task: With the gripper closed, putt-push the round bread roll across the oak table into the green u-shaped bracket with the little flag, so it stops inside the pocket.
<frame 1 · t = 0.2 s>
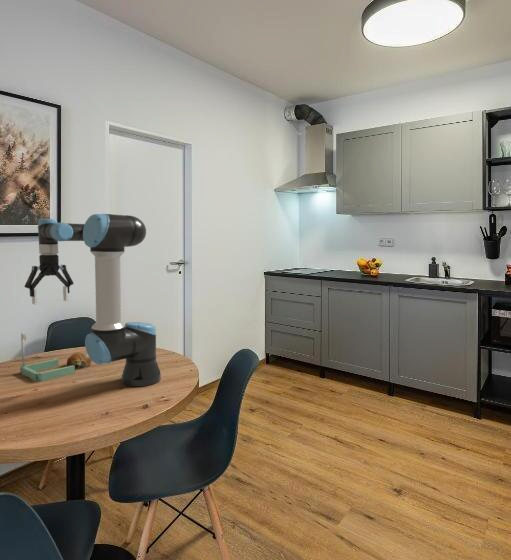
hand: (50, 302, 184), 27 cm above the table, tool pointing down, fingers open, 13 cm apart
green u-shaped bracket: (49, 372, 173), on the table
bread roll: (79, 366, 183), on the table
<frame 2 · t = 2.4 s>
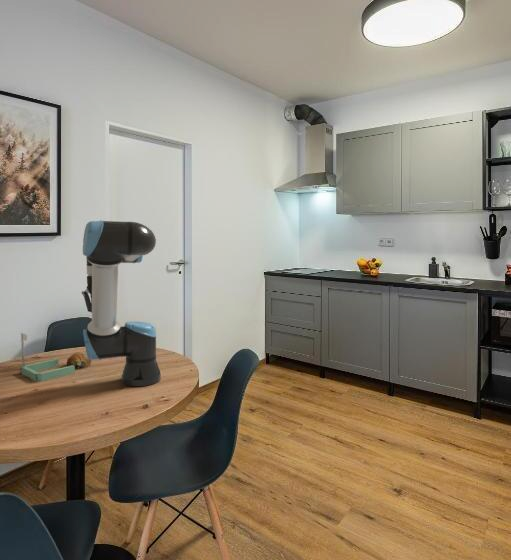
hand: (97, 326, 189), 16 cm above the table, tool pointing down, fingers closed
nothing on the table moved.
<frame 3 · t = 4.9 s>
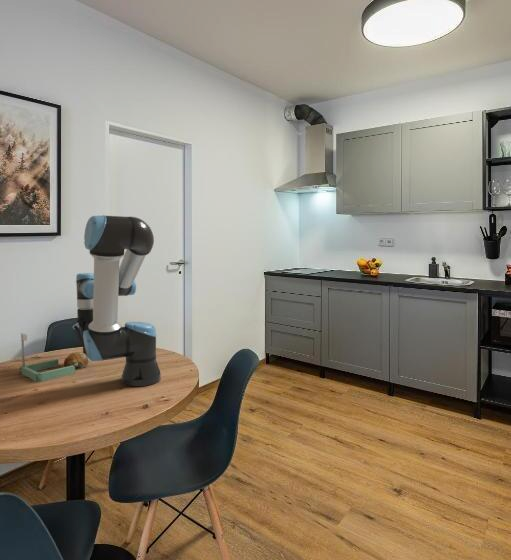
hand: (88, 360, 186), 2 cm above the table, tool pointing down, fingers closed
bread roll: (76, 367, 182), on the table, touching gripper
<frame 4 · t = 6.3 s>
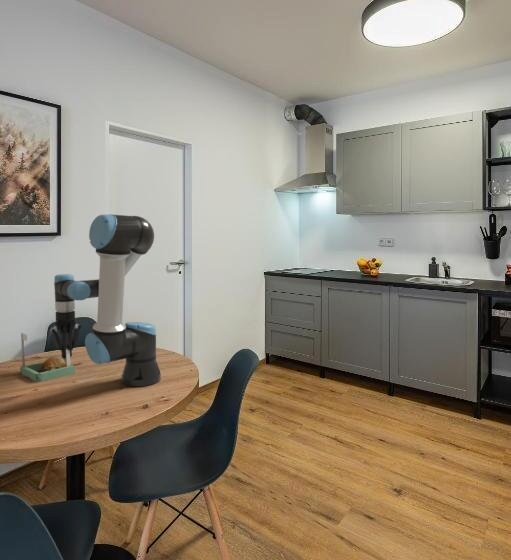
hand: (67, 364, 179), 2 cm above the table, tool pointing down, fingers closed
bread roll: (53, 372, 175), on the table, touching gripper
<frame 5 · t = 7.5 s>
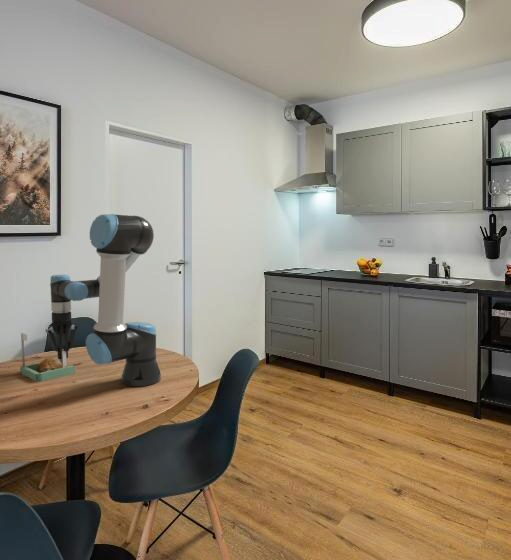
hand: (63, 365, 177), 2 cm above the table, tool pointing down, fingers closed
bread roll: (49, 373, 173), on the table
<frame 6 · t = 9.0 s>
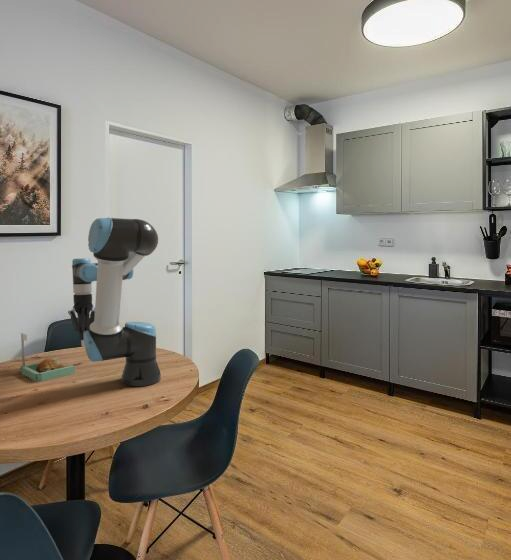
hand: (84, 346, 184), 8 cm above the table, tool pointing down, fingers closed
nothing on the table moved.
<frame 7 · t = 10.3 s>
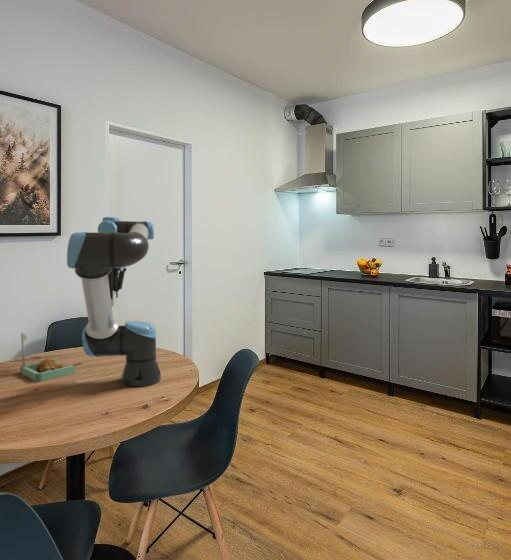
hand: (113, 305, 185), 26 cm above the table, tool pointing down, fingers closed
nothing on the table moved.
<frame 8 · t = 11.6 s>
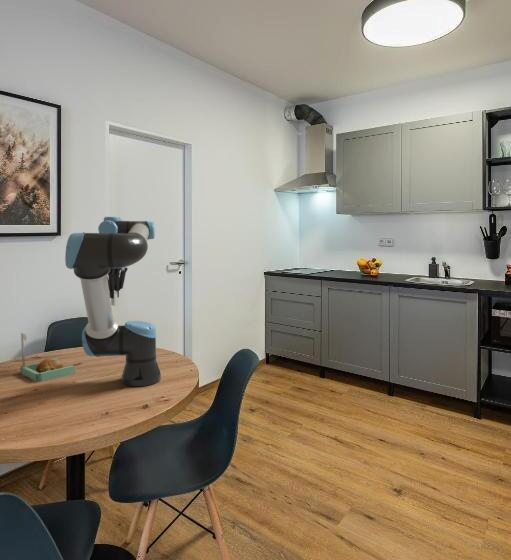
hand: (114, 305, 185), 26 cm above the table, tool pointing down, fingers closed
nothing on the table moved.
at the end: bread roll inside the target area (0.3 cm from its centre), on the table; bread roll moved 13.0 cm from its start; the gripper is holding nothing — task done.
